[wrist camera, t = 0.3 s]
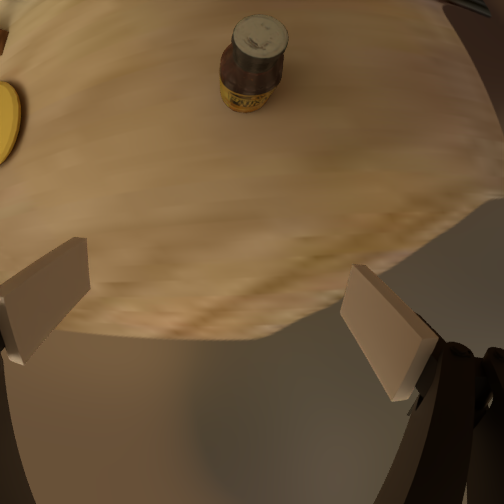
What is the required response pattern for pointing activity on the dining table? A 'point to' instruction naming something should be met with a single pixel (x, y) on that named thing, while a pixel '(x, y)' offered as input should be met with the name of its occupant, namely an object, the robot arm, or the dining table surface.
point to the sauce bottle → (252, 63)
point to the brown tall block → (3, 40)
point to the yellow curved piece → (8, 119)
